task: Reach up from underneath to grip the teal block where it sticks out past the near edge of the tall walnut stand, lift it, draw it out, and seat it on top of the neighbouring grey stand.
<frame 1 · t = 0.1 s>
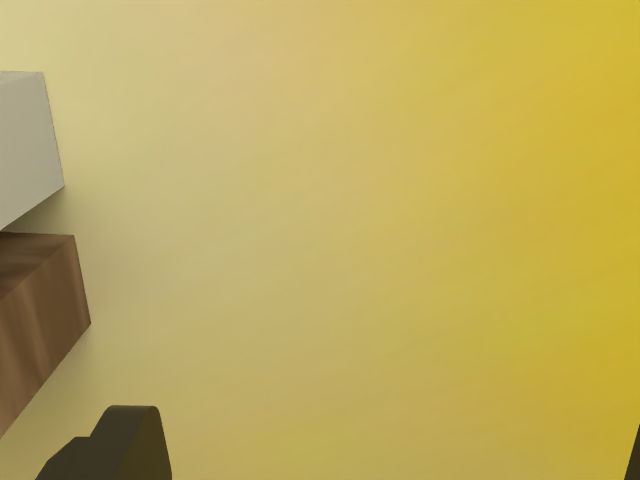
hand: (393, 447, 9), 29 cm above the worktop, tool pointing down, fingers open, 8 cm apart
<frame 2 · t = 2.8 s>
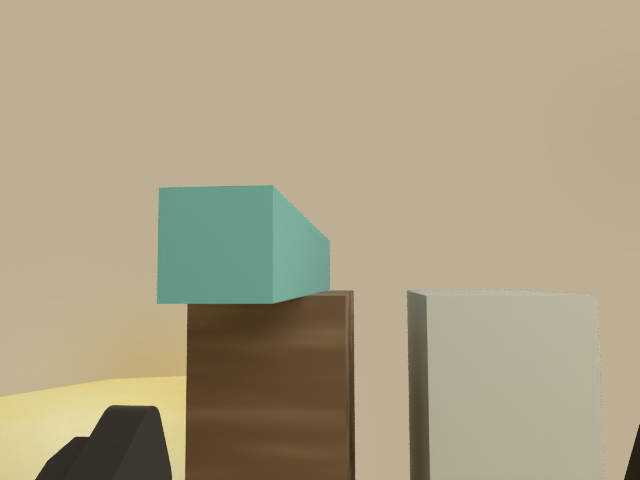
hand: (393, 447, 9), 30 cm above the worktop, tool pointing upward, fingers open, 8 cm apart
teal block: (278, 294, 31), point 32 cm above the worktop, touching walnut stand
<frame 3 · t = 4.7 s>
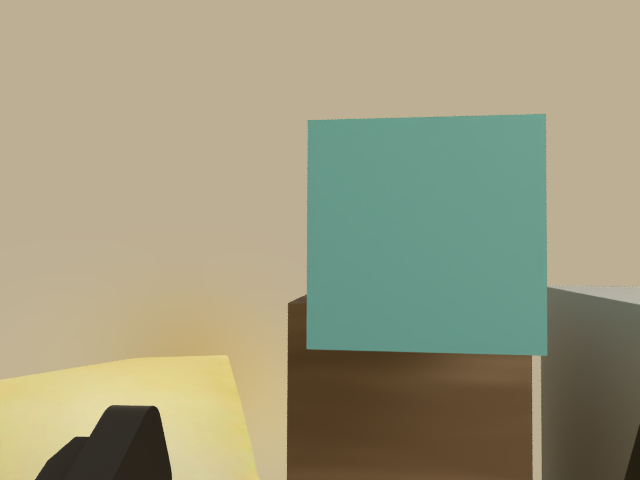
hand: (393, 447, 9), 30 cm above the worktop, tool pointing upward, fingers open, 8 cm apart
teal block: (403, 296, 22), point 32 cm above the worktop, touching walnut stand
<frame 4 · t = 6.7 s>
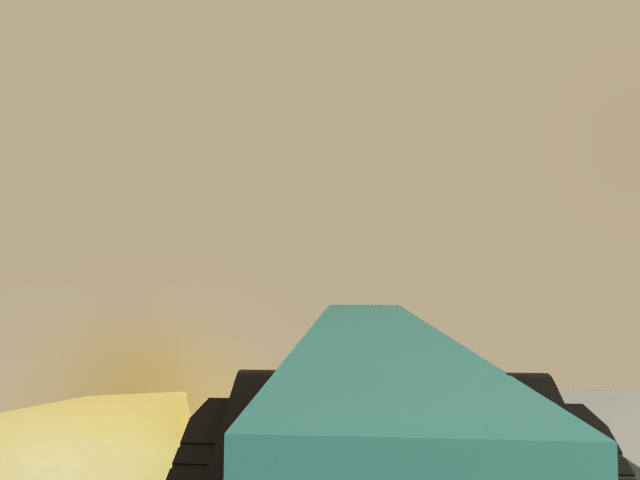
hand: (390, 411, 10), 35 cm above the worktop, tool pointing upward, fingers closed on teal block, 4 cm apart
teal block: (372, 445, 18), point 32 cm above the worktop, touching gripper, walnut stand
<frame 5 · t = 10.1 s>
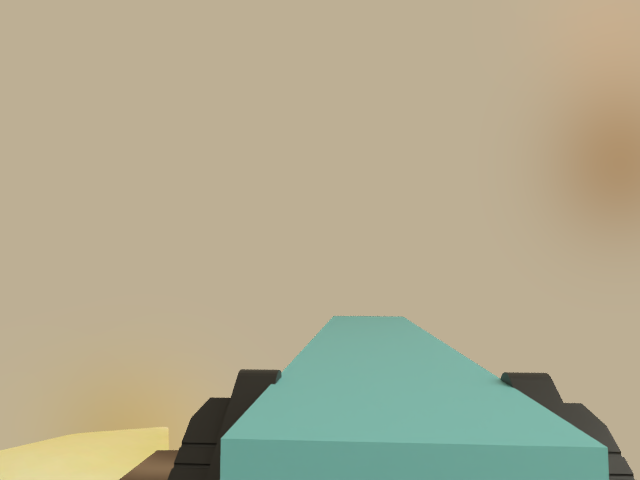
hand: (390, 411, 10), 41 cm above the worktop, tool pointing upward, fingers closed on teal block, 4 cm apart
teal block: (375, 456, 18), point 37 cm above the worktop, touching gripper
when the fingers open (36 cm above the worktop, at t = 13.6 s): teal block stays where it is, resting on grey stand.
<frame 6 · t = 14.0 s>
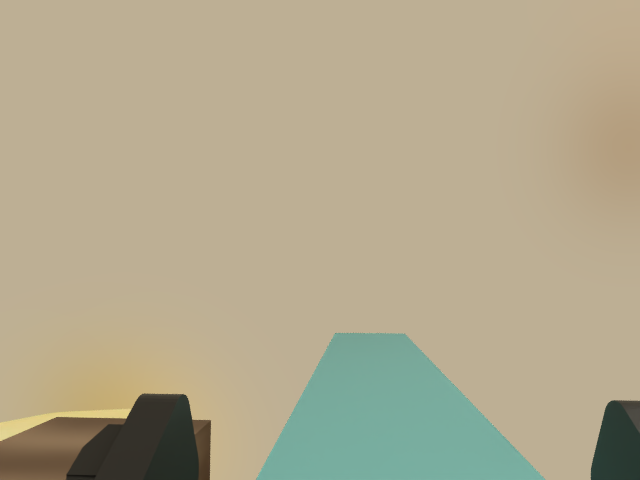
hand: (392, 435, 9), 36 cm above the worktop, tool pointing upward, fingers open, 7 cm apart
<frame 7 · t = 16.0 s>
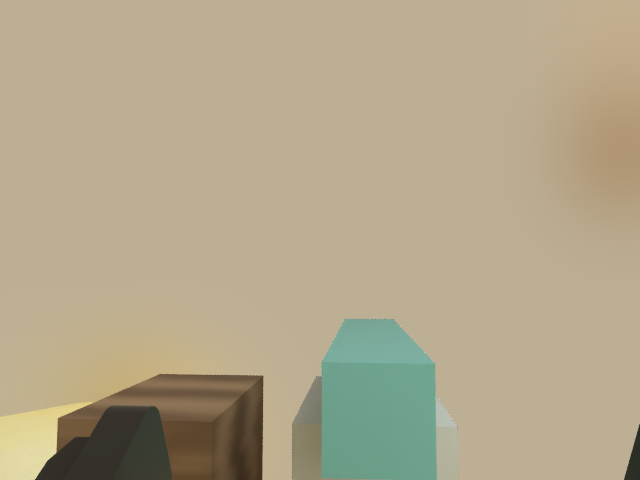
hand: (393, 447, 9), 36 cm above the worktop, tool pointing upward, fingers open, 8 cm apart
teal block: (372, 401, 32), point 32 cm above the worktop, touching grey stand
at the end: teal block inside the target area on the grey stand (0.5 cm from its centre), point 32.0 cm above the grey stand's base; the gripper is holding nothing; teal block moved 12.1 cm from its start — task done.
